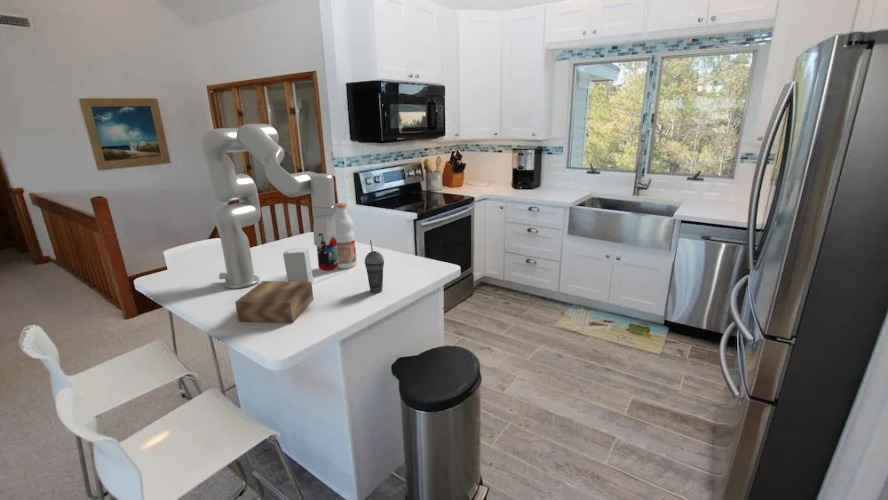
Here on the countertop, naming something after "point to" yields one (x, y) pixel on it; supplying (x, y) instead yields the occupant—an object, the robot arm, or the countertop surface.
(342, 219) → the fruit juice
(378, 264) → the beverage cup
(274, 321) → the walnut block
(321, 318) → the countertop surface
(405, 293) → the countertop surface
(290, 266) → the skincare box
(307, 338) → the countertop surface
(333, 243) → the beverage can
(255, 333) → the countertop surface
